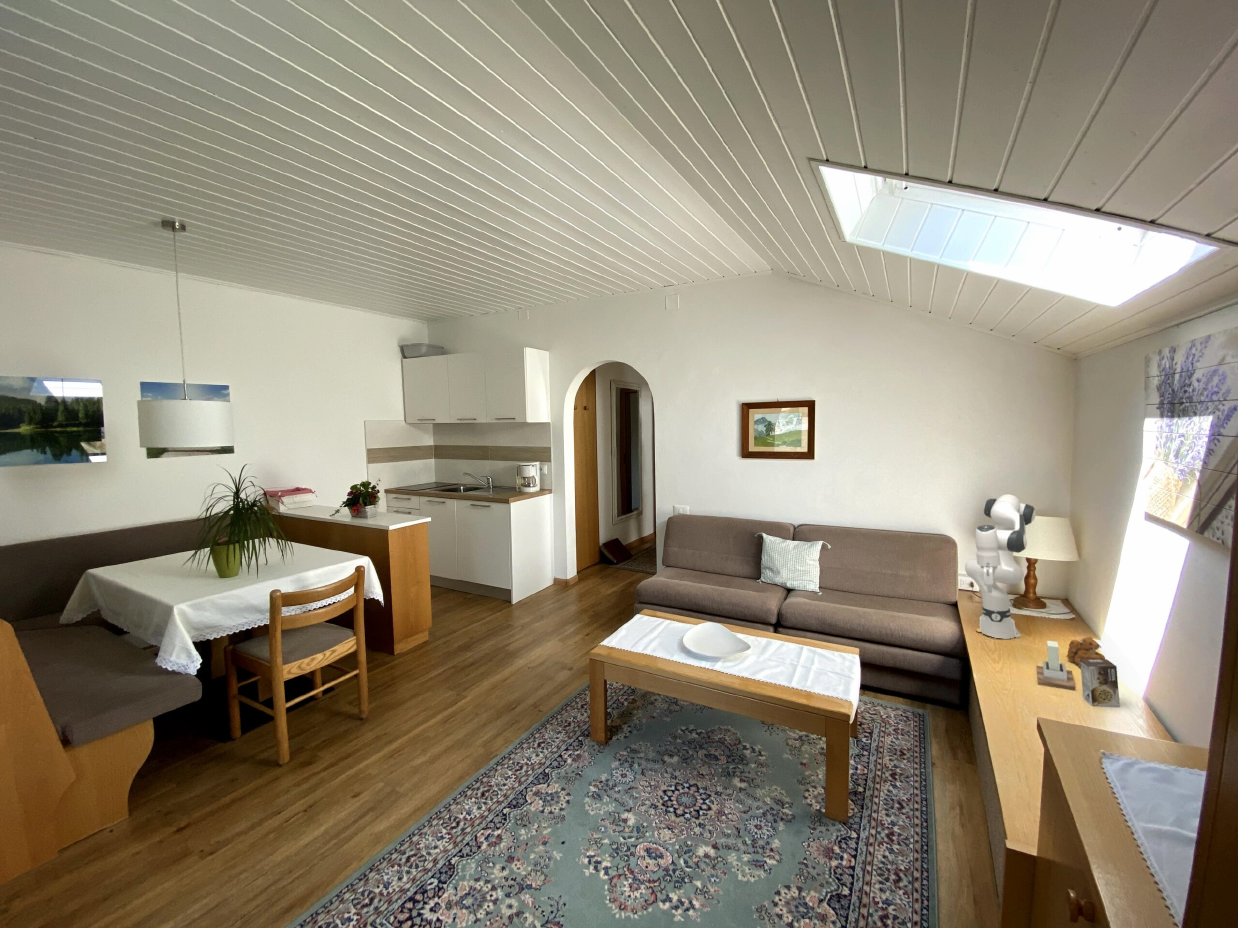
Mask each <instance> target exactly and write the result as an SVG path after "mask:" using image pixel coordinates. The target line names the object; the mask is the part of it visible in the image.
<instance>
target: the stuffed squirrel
mask: <svg viewBox="0 0 1238 928" xmlns="http://www.w3.org/2000/svg"><path fill="white" fill-rule="evenodd" d="M1068 646H1069V647H1068V648H1067V654H1066V656H1065V657H1066V658H1067V659H1068V661H1069V662H1070V663H1071V664H1076V665H1077V666H1078V667H1079V668H1080V669H1081V665H1080V659H1106V657H1105V655H1104V654H1102V653H1100V652H1098V651H1097V650H1099V649H1101V648H1102V646H1101V645H1100V644H1099V643H1098V642H1097V641H1096V640H1095V639H1094V638H1093V637H1091V636H1089V637H1083V638H1079V640H1077V639H1072V640H1071V641H1069V644H1068Z"/></svg>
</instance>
